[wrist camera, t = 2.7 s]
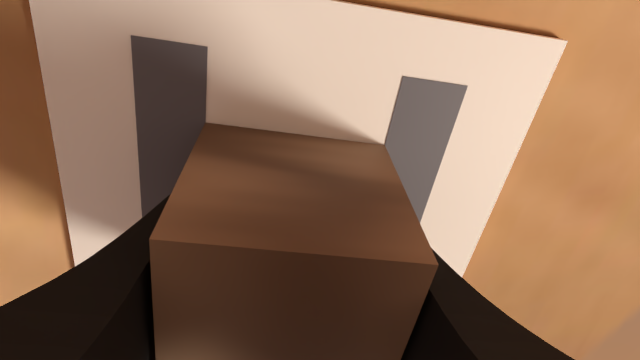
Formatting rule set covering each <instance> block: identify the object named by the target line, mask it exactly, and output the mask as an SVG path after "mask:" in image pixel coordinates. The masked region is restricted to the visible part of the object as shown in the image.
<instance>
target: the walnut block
mask: <svg viewBox="0 0 640 360" xmlns="http://www.w3.org/2000/svg"><path fill="white" fill-rule="evenodd" d="M149 246H150V265H151V283H152V302H153V320H154V339H155V357H156V360H401V358H402V355H403V353H404V350H405V348H406V345H407V343H408V340H409V338H410V335H411V333H412V330H413V328H414V325H415V323H416V320H417V318H418V315H419V313H420V310H421V308H422V305H423V303H424V300H425V298H426V295H427V293H428V290H429V288H430V285H431V283H432V280H433V278H434V275H435V273H436V270H437V268H438V262H437V260H436V258H435V256H434V253H433V251H432V249H431V247H430V245H429V242H428V240H427V238H426V236H425V233H424V231H423V229H422V227H421V225H420V222H419V220H418V218H417V216H416V213H415V211H414V209H413V207H412V205H411V202H410V200H409V198H408V196H407V193H406V191H405V189H404V187H403V185H402V182H401V180H400V178H399V176H398V173H397V171H396V169H395V167H394V165H393V162H392V160H391V158H390V156H389V153H388V151H387V149H386V147H385V145H379V144H371V143H363V142H356V141H348V140H340V139H332V138H324V137H316V136H308V135H301V134H293V133H285V132H277V131H269V130H261V129H253V128H245V127H238V126H230V125H222V124H214V123H206V122H205V124H204V126H203V128H202V131H201V133H200V135H199V137H198V139H197V141H196V143H195V145H194V147H193V149H192V151H191V153H190V155H189V157H188V160H187V162H186V164H185V166H184V168H183V170H182V172H181V174H180V176H179V178H178V180H177V182H176V184H175V187H174V189H173V191H172V193H171V195H170V197H169V199H168V201H167V203H166V205H165V207H164V209H163V211H162V213H161V216H160V218H159V220H158V222H157V224H156V226H155V228H154V230H153V232H152V234H151V236H150V238H149Z"/></svg>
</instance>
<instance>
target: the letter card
mask: <svg viewBox="0 0 640 360" xmlns="http://www.w3.org/2000/svg"><path fill="white" fill-rule="evenodd" d="M29 4H30V10H31V16H32V21H33V27H34V33H35V39H36V44H37V50H38V56H39V62H40V67H41V73H42V79H43V85H44V90H45V96H46V102H47V108H48V113H49V119H50V125H51V131H52V136H53V142H54V148H55V154H56V160H57V165H58V171H59V177H60V183H61V188H62V194H63V200H64V206H65V211H66V217H67V223H68V229H69V234H70V240H71V246H72V252H73V257H74V263H75V266H77V265H78V264H80V263H82V262H83V261H85V260H86V259H88V258H89V257H91V256H92V255H94V254H95V253H96V252H98V251H99V250H101V249H102V248H103V247H105V246H106V245H108V244H109V243H110V242H112V241H113V240H115V239H116V238H117V237H119V236H120V235H121V234H122V233H124V232H125V231H126V230H127V229H129V228H130V227H131V226H133V225H134V224H135V223H136V222H138V221H139V220H140V219H141V218H142V217H144V216H145V215H146V214H147V213H148V212H150V211H151V210H152V209H153V208H154V207H155V206H157V205H158V204H159V203H160V202H161V201H162V200H163V199H165V198H166V197H167V196H168V195H170V194H171V193H172V191H173V189H174V187H175V184H176V182H177V180H178V178H179V176H180V174H181V172H182V170H183V168H184V166H185V164H186V162H187V160H188V157H189V155H190V153H191V151H192V149H193V147H194V145H195V143H196V141H197V139H198V137H199V135H200V133H201V131H202V128H203V126H204V124H205V122H206V123H214V124H222V125H230V126H238V127H245V128H253V129H261V130H269V131H277V132H285V133H293V134H301V135H308V136H316V137H324V138H332V139H340V140H348V141H356V142H363V143H371V144H379V145H385V147H386V149H387V151H388V153H389V156H390V158H391V160H392V162H393V165H394V167H395V169H396V171H397V173H398V176H399V178H400V180H401V182H402V185H403V187H404V189H405V191H406V193H407V196H408V198H409V200H410V202H411V205H412V207H413V209H414V211H415V213H416V216H417V218H418V220H419V222H420V225H421V227H422V229H423V231H424V233H425V236H426V238H427V240H428V242H429V245H430V247H431V248H432V249H433V250H434V251H435V252H436V253H437V254H438V255H439V256H440V257H441V258H442V259H443V260H444V261H445V262H446V263H447V264H448V265H449V266H450V267H451V268H452V269H453V270H454V271H455V272H456V273H457V274H458V275H460V276H461V277H462V276H463V274H464V272H465V270H466V267H467V265H468V263H469V261H470V258H471V256H472V254H473V252H474V250H475V247H476V245H477V243H478V241H479V238H480V236H481V234H482V232H483V229H484V227H485V225H486V223H487V220H488V218H489V216H490V214H491V212H492V209H493V207H494V205H495V203H496V200H497V198H498V196H499V194H500V191H501V189H502V187H503V185H504V182H505V180H506V178H507V176H508V174H509V171H510V169H511V167H512V165H513V162H514V160H515V158H516V156H517V153H518V151H519V149H520V147H521V145H522V142H523V140H524V138H525V136H526V133H527V131H528V129H529V127H530V124H531V122H532V120H533V118H534V115H535V113H536V111H537V109H538V107H539V104H540V102H541V100H542V98H543V95H544V93H545V91H546V89H547V86H548V84H549V82H550V80H551V77H552V75H553V73H554V71H555V69H556V66H557V64H558V62H559V60H560V57H561V55H562V53H563V51H564V48H565V46H566V44H567V42H568V41H566V40H563V39H560V38H554V37H548V36H542V35H537V34H531V33H525V32H519V31H513V30H507V29H502V28H496V27H490V26H484V25H478V24H473V23H467V22H461V21H455V20H449V19H444V18H438V17H432V16H426V15H420V14H415V13H409V12H403V11H397V10H391V9H386V8H380V7H374V6H368V5H362V4H357V3H351V2H345V1H339V0H29Z"/></svg>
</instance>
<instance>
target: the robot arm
mask: <svg viewBox="0 0 640 360" xmlns="http://www.w3.org/2000/svg"><path fill="white" fill-rule="evenodd" d="M170 195H171V194H170ZM170 195H168V196H167V197H166V198H165V199H163V200H162V201H161V202H160V203H159V204H158V205H157V206H155V207H154V208H153V209H152V210H151V211H150V212H148V213H147V214H146V215H145V216H144V217H142V218H141V219H140V220H139V221H138V222H136V223H135V224H134V225H133V226H131V227H130V228H129V229H127V230H126V231H125V232H124V233H122V234H121V235H120V236H119V237H117V238H116V239H115V240H113V241H112V242H110V243H109V244H108V245H106V246H105V247H103V248H102V249H101V250H99V251H98V252H96V253H95V254H94V255H92V256H91V257H89V258H88V259H86V260H85V261H83V262H82V263H80V264H78V265H77V266H75V267H74V268H72V269H70V270H69V271H67V272H65V273H63V274H62V275H60V276H58V277H57V278H55V279H53V280H51V281H50V282H48V283H46V284H44V285H42V286H40V287H38V288H36V289H34V290H32V291H30V292H28V293H26V294H24V295H22V296H20V297H18V298H17V299H15V300H13V301H11V302H9V303H7V304H5V305H3V306H1V307H0V360H156V357H155V339H154V320H153V302H152V283H151V265H150V246H149V238H150V236H151V234H152V232H153V230H154V228H155V226H156V224H157V222H158V220H159V218H160V216H161V213H162V211H163V209H164V207H165V205H166V203H167V201H168V199H169V197H170ZM431 249H432V248H431ZM432 251H433V253H434V256H435V258H436V260H437V262H438V268H437V270H436V273H435V275H434V278H433V280H432V283H431V285H430V288H429V290H428V293H427V295H426V298H425V300H424V303H423V305H422V308H421V310H420V313H419V315H418V318H417V320H416V323H415V325H414V328H413V330H412V333H411V335H410V338H409V340H408V343H407V345H406V348H405V350H404V353H403V355H402V358H401V360H574V359H573V358H571V357H569V356H568V355H566V354H564V353H563V352H561V351H559V350H558V349H556V348H555V347H553V346H551V345H550V344H548V343H547V342H545V341H544V340H542V339H541V338H539V337H538V336H536V335H535V334H533V333H532V332H530V331H529V330H527V329H526V328H524V327H523V326H521V325H520V324H519V323H517V322H516V321H515V320H513V319H512V318H510V317H509V316H508V315H506V314H505V313H504V312H502V311H501V310H500V309H499V308H497V307H496V306H495V305H494V304H492V303H491V302H490V301H488V300H487V299H486V298H485V297H483V296H482V295H481V294H480V293H479V292H477V291H476V290H475V289H474V288H473V287H472V286H471V285H470V284H468V283H467V282H466V281H465V280H464V279H463V278H462V277H461V276H460V275H458V274H457V273H456V272H455V271H454V270H453V269H452V268H451V267H450V266H449V265H448V264H447V263H446V262H445V261H444V260H443V259H442V258H441V257H440V256H439V255H438V254H437V253H436V252H435V251H434V250H433V249H432Z"/></svg>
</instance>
